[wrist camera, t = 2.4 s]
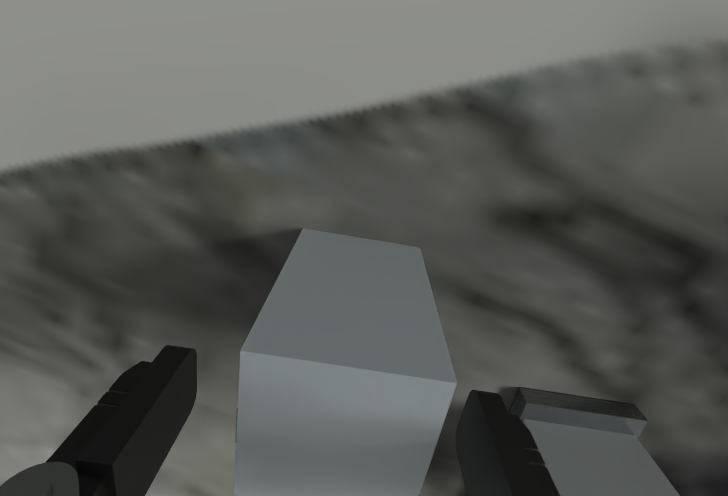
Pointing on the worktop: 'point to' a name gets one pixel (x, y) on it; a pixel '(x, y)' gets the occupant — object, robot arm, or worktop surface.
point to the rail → (578, 411)
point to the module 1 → (343, 374)
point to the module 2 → (597, 462)
